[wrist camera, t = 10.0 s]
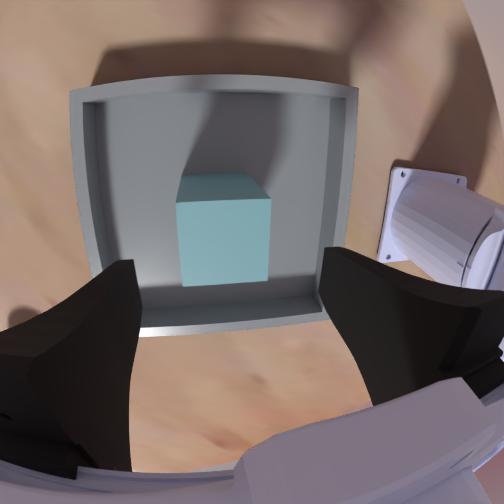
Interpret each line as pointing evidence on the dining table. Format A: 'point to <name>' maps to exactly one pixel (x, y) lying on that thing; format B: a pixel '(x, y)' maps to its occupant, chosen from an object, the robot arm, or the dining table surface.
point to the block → (222, 229)
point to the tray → (214, 162)
